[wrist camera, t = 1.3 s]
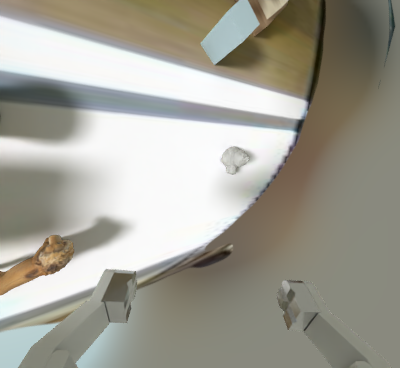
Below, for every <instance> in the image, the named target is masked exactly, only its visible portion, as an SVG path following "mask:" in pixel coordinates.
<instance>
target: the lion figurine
mask: <svg viewBox="0 0 400 368" xmlns="http://www.w3.org/2000/svg"><path fill="white" fill-rule="evenodd" d="M73 253H74V249H73V243H72V241H70V240H62V239H61V237H60V236H59V235H51V236H50V237H49V238H46V240H45V242H44V243H43V246H41V247H40V248H39V250H38V251H37V253H36V254H35V255H34V257H32V258H29V259H27V260H25V261H23V262H21V263H19V264H17V265H15V266H14V267H12V268H11V269H10V270H8V271H6V272H1V271H0V295H3V294H5V293H6V292H8V291H10V290H11V289H13V288H15V287H17V286H20V285H22V284H24V283H27V282H29V281H31V280H33V279H35V278H37V277H39V276H42V275H45V276H47V275H48V274H54V273H55V272H58V271H60V269H62V268H64V267H65V266H66V264H67V263H68V262H69V261H70V260H71V259H72V257H73V256H72V255H73Z"/></svg>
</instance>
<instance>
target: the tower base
mask: <svg viewBox="0 0 400 368" xmlns="http://www.w3.org/2000/svg"><path fill="white" fill-rule="evenodd" d="M235 1H236V3H237V2H238V1H239V0H235ZM287 1H288V0H248V2H249V4H250V6H251V8H252V10H253V12H254V14H255V16H256V18H257V20H258V21H259V23H260V24H259V26H258V27H257V28H256V29H255V30H254V31H253V32H252V33H253V35H254V37H255V36H256V35H257V34H258V33H260V32H261V31H262V30H263V29H265V28H266V27H267V26H268V25H269V24H270V23H271V22H272V21H273V20H274V19H275V17H276V16H277V15H278V14H279V13H280V12H281V11H282V10H283V9H284V8H285V7H286V6H287V5H288V4H287Z"/></svg>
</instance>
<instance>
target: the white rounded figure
mask: <svg viewBox="0 0 400 368" xmlns="http://www.w3.org/2000/svg"><path fill="white" fill-rule="evenodd" d="M248 161H249V157H248V155H247V154H246V153H245V152H244V151H243V150H239V149H238V148H237V147H230V148H228V149H227V150H226V151H225V152H224V153H223V155H222V159H221V162H222V163H223V164H224V165H225V166H226V172H227V173H230V174H232V175H234V174H236V170H237V167H240V166H243V165H245V164H246V163H247V162H248Z"/></svg>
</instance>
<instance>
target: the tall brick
mask: <svg viewBox="0 0 400 368" xmlns="http://www.w3.org/2000/svg"><path fill="white" fill-rule="evenodd" d="M259 24H260V23H259V21H258V20H257V18H256V16H255V14H254V12H253V10H252V8H251V6H250V4H249V2H248V0H239V1H238V2H237V3H236V4H235V5H234V6H233V7H232V8H231V9H230V10H228V11H227V13H226V14H225V15H224V16H223V17H222V19H221V20H220V21H219V22H218V23H217V24H216V26H215V27H214V28H213V29H212V30H211V31H210V33H209V34H208V35H207V36H206V37H205V39H204V40H203V41H202V42H201V43H200V44H201V46H202V47H203V49H204V50H205V52H206V53H207V55H208V56H209V58H210V59H211V61H212V62H213V64H214V65H215V64H216V63H218V62H219V61H220V60H221V59H222V58H224V57H225V56H226V55H227V54H228V53H230V52H231V51H232V50H233V49H235V48H236V47H237V46H238V45H239V44H241V43H242V42H243V41H244V40H245V39H246V38H247V37H248V36H249V35H250V34H251V33H252V32H253V31H254V30H255V29H256V28H257V27H258V26H259Z"/></svg>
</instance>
